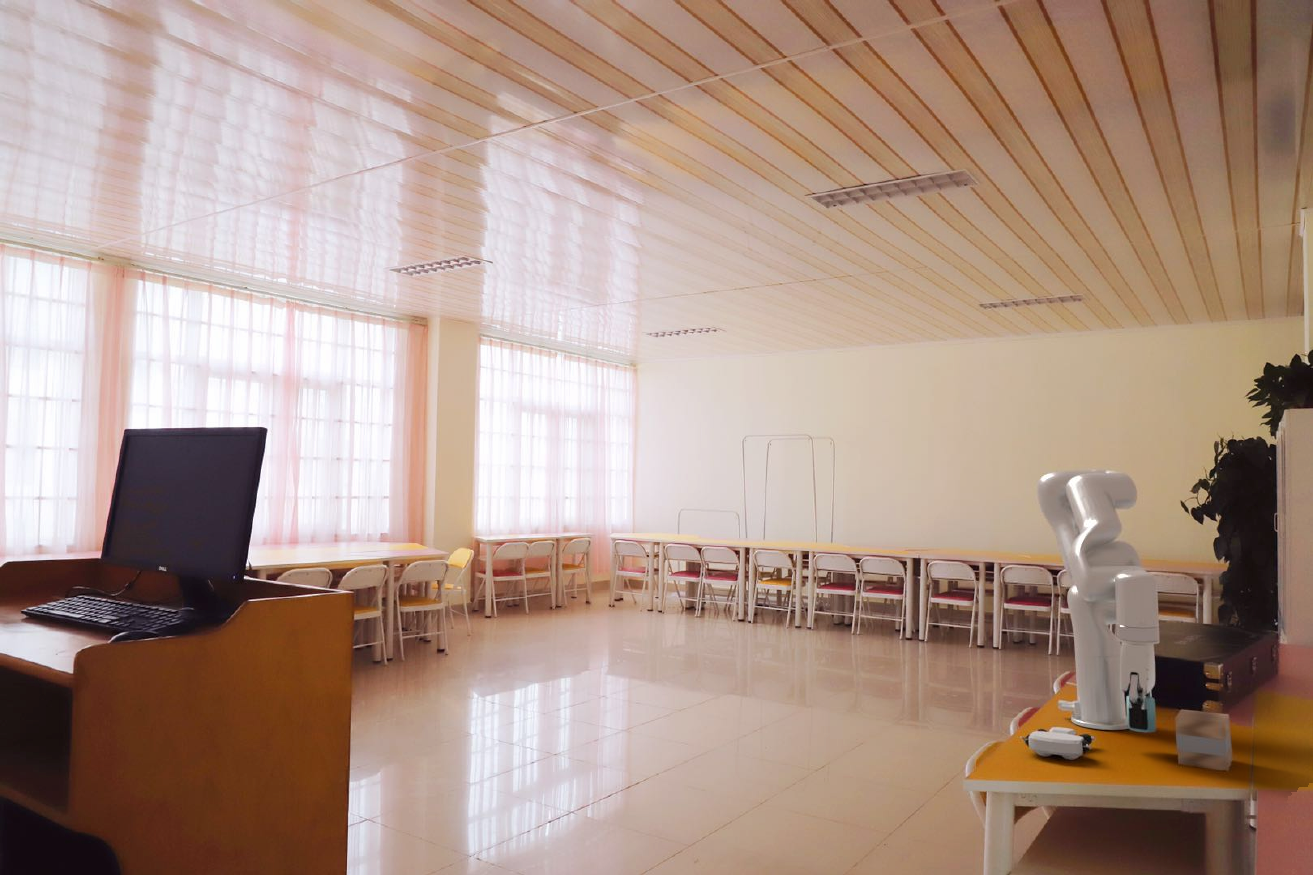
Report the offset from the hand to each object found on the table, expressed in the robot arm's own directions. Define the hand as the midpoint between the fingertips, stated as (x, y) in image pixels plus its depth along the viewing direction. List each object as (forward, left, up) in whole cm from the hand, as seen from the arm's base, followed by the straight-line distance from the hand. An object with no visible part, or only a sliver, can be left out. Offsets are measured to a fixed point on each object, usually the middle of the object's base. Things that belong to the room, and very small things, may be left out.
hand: (1141, 723), depth 179 cm
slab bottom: (+11, -1, -6) cm, 12 cm away
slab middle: (+11, -1, -3) cm, 11 cm away
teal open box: (0, 0, -1) cm, 1 cm away
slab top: (+11, -1, 0) cm, 11 cm away
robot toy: (-13, -9, -6) cm, 17 cm away
